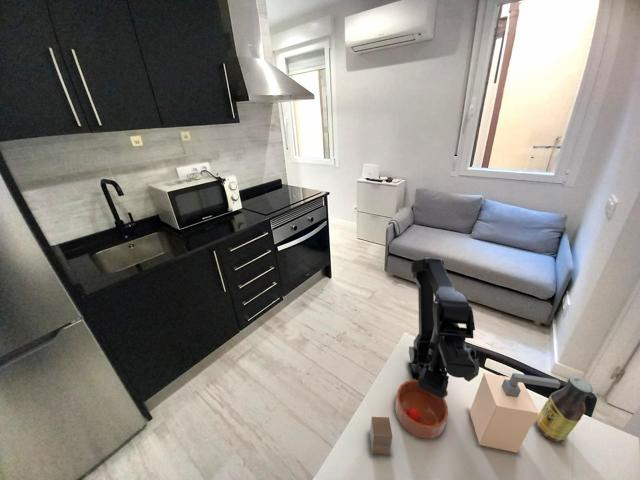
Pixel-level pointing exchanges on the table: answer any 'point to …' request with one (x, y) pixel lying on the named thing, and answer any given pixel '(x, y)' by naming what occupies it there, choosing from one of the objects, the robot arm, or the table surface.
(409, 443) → the table surface
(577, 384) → the sauce bottle
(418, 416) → the tomato
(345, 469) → the table surface
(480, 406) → the soap dispenser
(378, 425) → the wooden stand
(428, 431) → the bowl
